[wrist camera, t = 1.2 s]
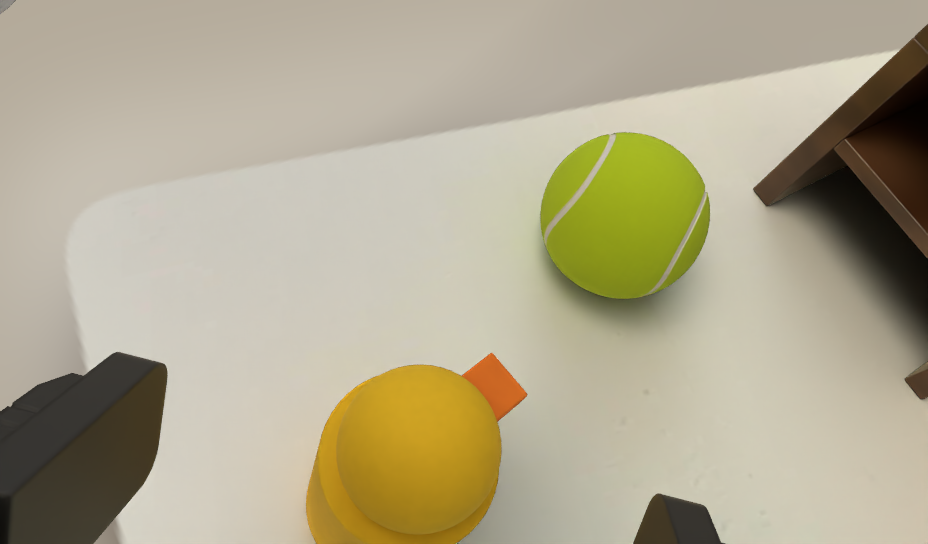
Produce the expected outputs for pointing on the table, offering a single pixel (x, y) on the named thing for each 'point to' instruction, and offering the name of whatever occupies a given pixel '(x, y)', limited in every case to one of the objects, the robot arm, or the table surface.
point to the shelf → (875, 150)
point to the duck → (411, 456)
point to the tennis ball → (625, 215)
